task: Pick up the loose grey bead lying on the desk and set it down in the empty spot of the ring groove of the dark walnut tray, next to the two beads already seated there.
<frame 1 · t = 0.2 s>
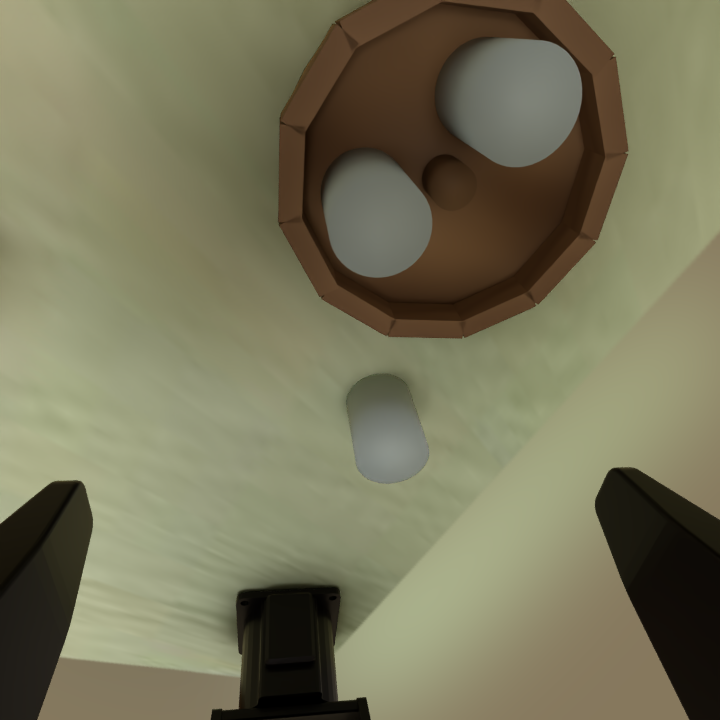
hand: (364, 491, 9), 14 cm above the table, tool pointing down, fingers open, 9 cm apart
bead loose: (378, 400, 26), on the table
bead seated b: (363, 193, 19), point 1 cm above the table, touching walnut tray
walnut tray: (437, 172, 20), on the table
bead seated a: (480, 91, 18), point 1 cm above the table, touching walnut tray
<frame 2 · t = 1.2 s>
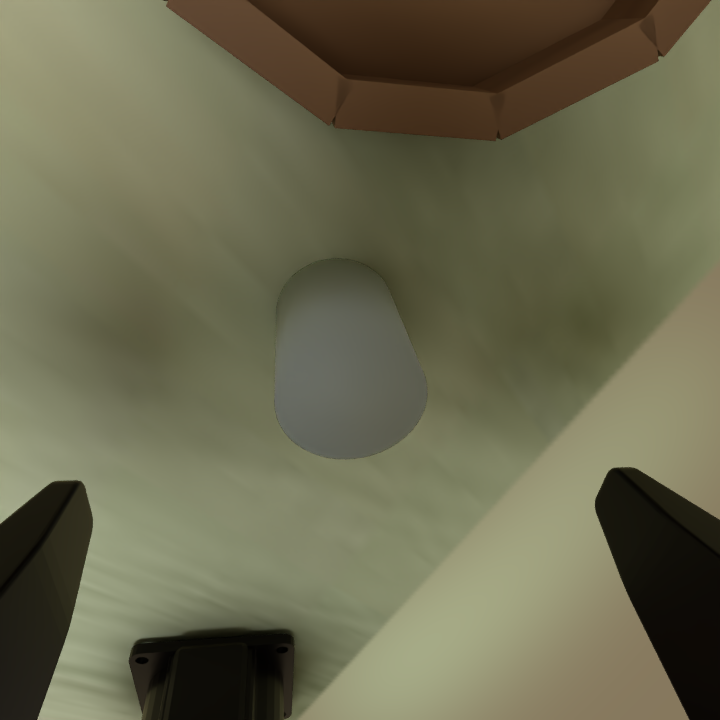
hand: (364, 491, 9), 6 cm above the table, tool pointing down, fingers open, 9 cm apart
bead loose: (335, 314, 14), on the table
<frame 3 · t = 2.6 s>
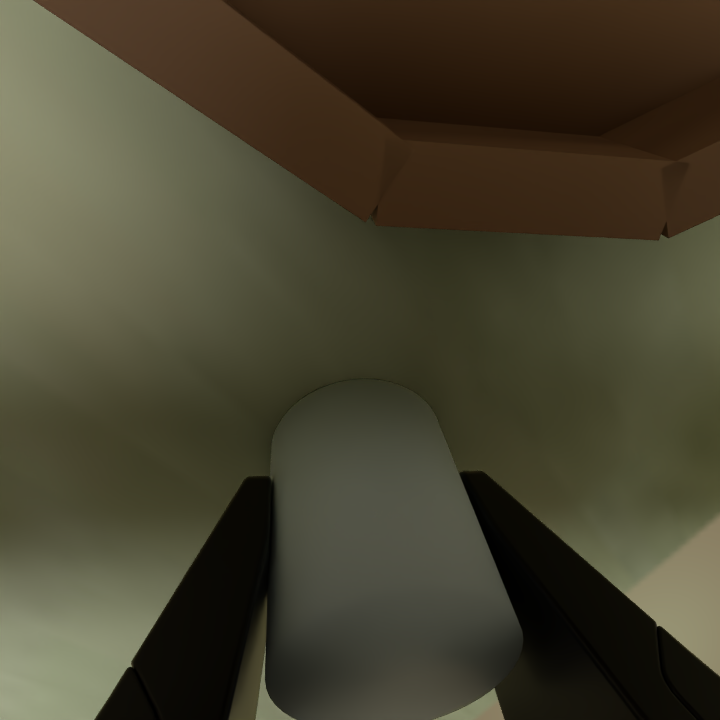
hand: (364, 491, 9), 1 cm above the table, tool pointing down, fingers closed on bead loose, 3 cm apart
bead loose: (357, 449, 10), on the table, touching gripper
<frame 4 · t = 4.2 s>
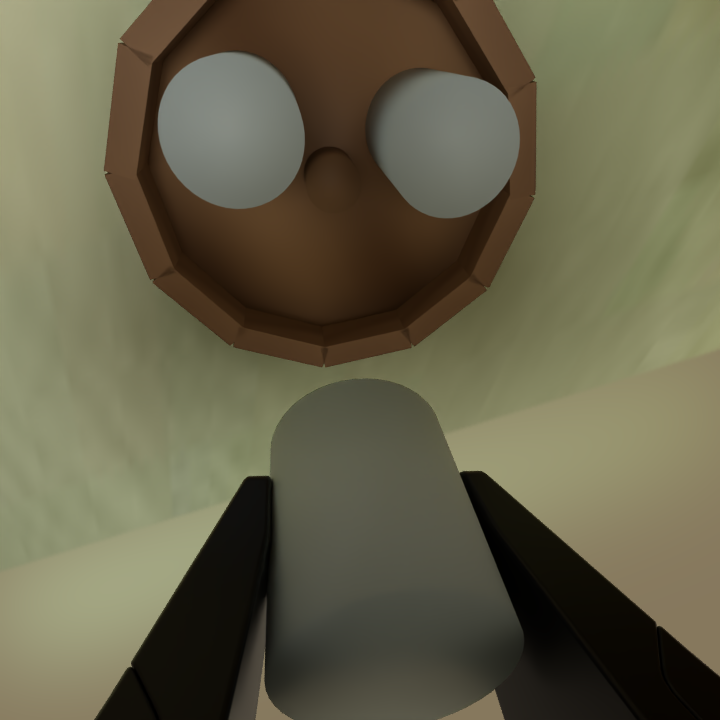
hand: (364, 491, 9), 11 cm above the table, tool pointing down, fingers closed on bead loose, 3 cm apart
bead loose: (357, 449, 10), point 10 cm above the table, touching gripper
bead seated b: (242, 114, 15), point 1 cm above the table, touching walnut tray
walnut tray: (327, 168, 17), on the table
bead seated a: (417, 127, 16), point 1 cm above the table, touching walnut tray
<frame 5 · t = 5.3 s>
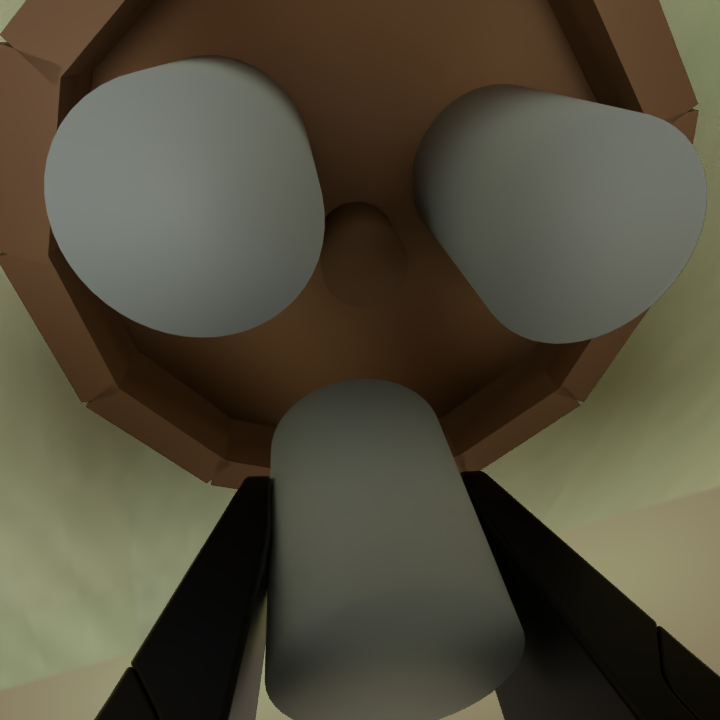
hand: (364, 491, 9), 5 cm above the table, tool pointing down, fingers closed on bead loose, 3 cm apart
bead loose: (357, 449, 10), point 4 cm above the table, touching gripper
bead seated b: (223, 155, 10), point 1 cm above the table, touching walnut tray
walnut tray: (351, 228, 11), on the table
bead seated a: (490, 174, 10), point 1 cm above the table, touching walnut tray
when the fingers open (3 cm above the table, at t = 6.0 s): bead loose stays where it is, resting on walnut tray.
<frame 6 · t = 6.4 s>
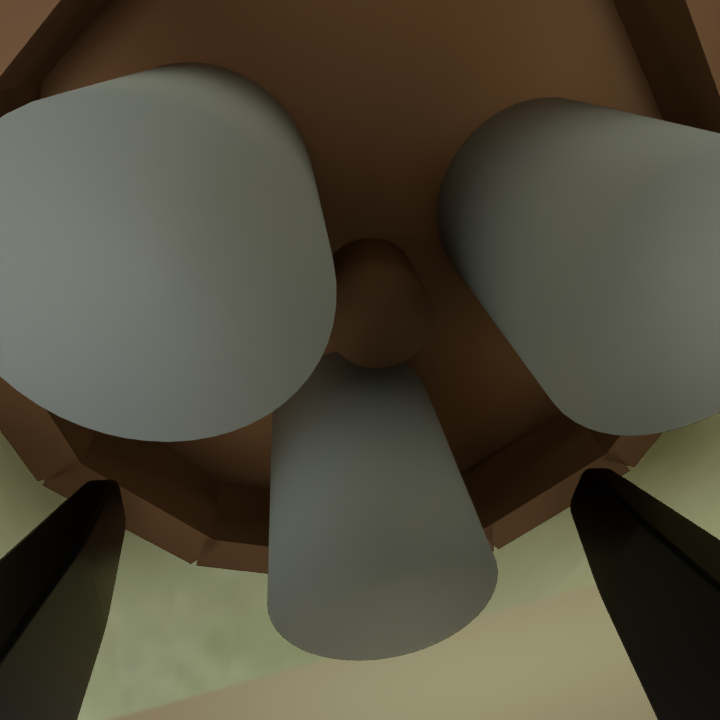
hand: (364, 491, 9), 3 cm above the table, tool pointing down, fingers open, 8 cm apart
bead loose: (351, 416, 11), point 1 cm above the table, touching walnut tray
bead seated b: (207, 184, 8), point 1 cm above the table, touching walnut tray
walnut tray: (361, 265, 10), on the table
bead seated a: (531, 204, 9), point 1 cm above the table, touching walnut tray
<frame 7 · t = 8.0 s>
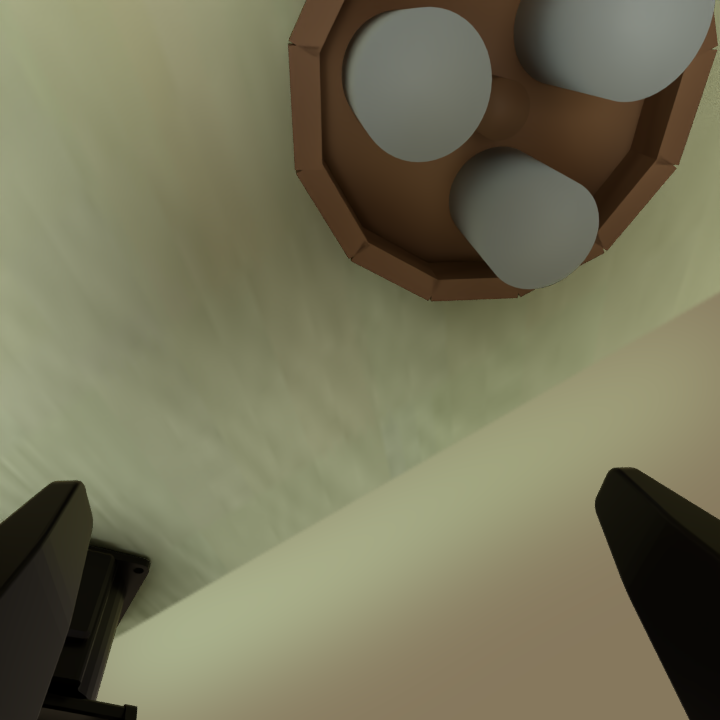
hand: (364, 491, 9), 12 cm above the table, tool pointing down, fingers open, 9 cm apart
bead loose: (494, 196, 18), point 1 cm above the table, touching walnut tray
bead seated b: (395, 75, 15), point 1 cm above the table, touching walnut tray
walnut tray: (478, 100, 17), on the table
bead seated a: (567, 23, 15), point 1 cm above the table, touching walnut tray
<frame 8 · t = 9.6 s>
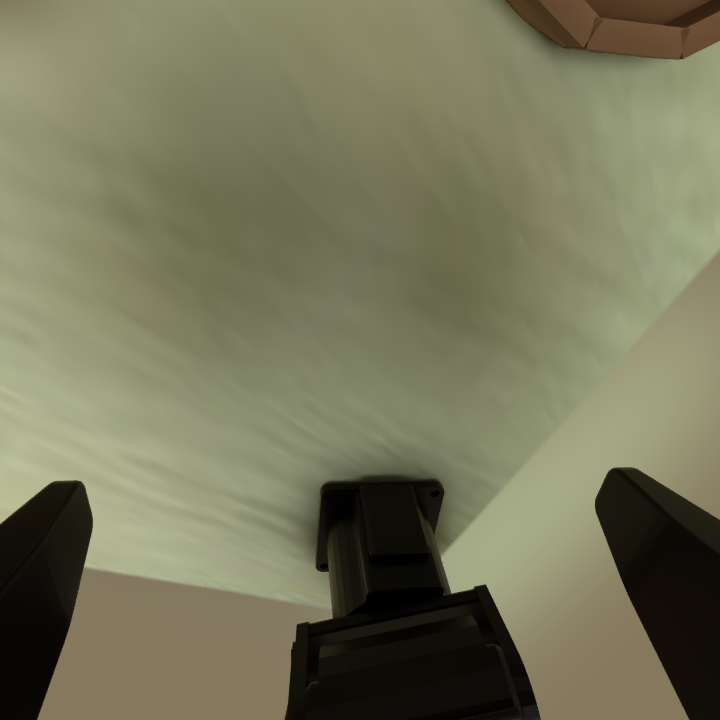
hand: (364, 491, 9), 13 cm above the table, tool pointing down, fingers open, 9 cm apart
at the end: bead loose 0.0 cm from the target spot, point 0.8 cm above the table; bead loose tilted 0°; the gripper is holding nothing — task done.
